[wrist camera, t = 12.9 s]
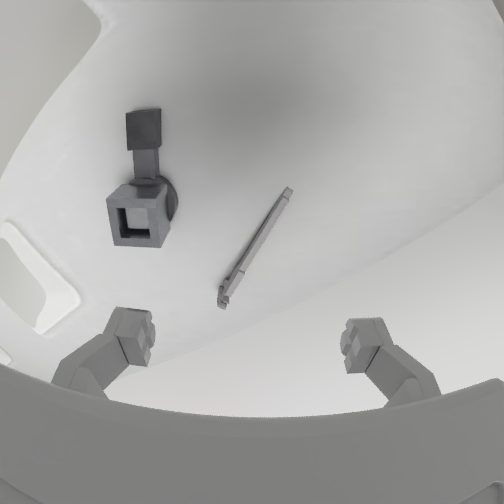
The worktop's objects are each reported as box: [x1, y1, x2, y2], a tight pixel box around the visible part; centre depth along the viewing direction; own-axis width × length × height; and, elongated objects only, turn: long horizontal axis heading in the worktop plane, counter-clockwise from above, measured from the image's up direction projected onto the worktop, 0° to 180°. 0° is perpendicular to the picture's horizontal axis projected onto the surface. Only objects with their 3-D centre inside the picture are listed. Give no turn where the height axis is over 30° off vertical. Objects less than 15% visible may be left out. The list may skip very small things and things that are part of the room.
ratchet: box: [125, 109, 178, 229], centre depth 34 cm, size 17×8×6 cm, turn 177°
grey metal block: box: [106, 184, 170, 248], centre depth 35 cm, size 7×7×5 cm
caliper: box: [217, 187, 293, 310], centre depth 41 cm, size 20×1×6 cm, turn 150°
